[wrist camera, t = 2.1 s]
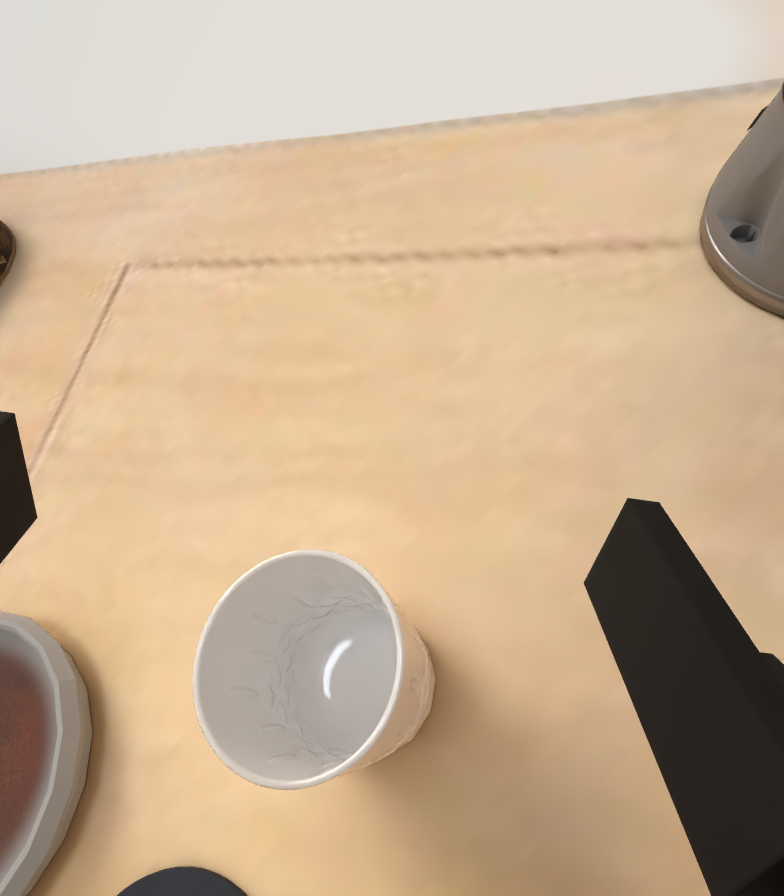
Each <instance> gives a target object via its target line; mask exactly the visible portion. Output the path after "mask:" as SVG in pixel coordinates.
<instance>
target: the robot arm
mask: <svg viewBox="0 0 784 896" xmlns="http://www.w3.org/2000/svg"><path fill="white" fill-rule="evenodd" d="M750 128H751V130H750V131H749V132H748V134H747V135H746V136H745V138H744V139H743V140H742V142H741V143H740V144H739V146H738V147H737V148H736V150H735V151H734V152H733V154H732V155H731V156H730V158H729V159H728V160H727V162H726V163H725V164H724V166H723V167H722V169H721V170H720V172H719V174H718V176H717V177H716V179H715V181H714V183H713V185H712V187H711V189H710V192H709V194H708V197H707V200H706V203H705V207H704V210H703V213H702V217H701V223H700V238H701V243H702V247H703V250H704V253H705V255H706V257H707V259H708V261H709V263H710V265H711V266H712V268H713V269H714V270H715V272H716V273H717V274H718V275H719V276H720V278H721V279H722V280H723V281H724V282H725V283H726V284H727V285H729V286H730V287H731V288H732V289H733V290H735V291H736V292H737V293H738V294H740V295H741V296H743V297H744V298H746V299H747V300H749V301H751V302H752V303H754V304H756V305H758V306H760V307H762V308H764V309H766V310H768V311H771V312H773V313H775V314H778V315H781V316H784V82H783V84H782V87H781V89H780V91H779V92H778V94H777V95H776V96H775V98H774V99H773V100H772V102H771V103H770V104H769V105H768V106H767V107H765V108H764V109H762V110H761V112H760V113H759V114H758V116H757V117H756V118H755V120H754V121H753V123H752V124H751V125H750V127H749V128H748V130H749V129H750ZM748 130H747V131H748ZM36 519H37V514H36V509H35V505H34V500H33V495H32V491H31V486H30V482H29V477H28V473H27V468H26V463H25V459H24V454H23V450H22V445H21V441H20V436H19V431H18V427H17V422H16V418H15V413H8V412H1V411H0V564H1V562H2V561H3V560H4V559H5V557H6V556H7V555H8V554H9V552H10V551H11V550H12V549H13V547H14V546H15V545H16V544H17V542H18V541H19V540H20V539H21V537H22V536H23V535H24V534H25V532H26V531H27V530H28V529H29V527H30V526H31V525H32V524H33V522H34V521H35V520H36ZM584 585H585V587H586V590H587V592H588V595H589V597H590V600H591V602H592V604H593V607H594V609H595V612H596V614H597V617H598V619H599V622H600V624H601V626H602V629H603V631H604V634H605V636H606V639H607V641H608V644H609V646H610V649H611V651H612V653H613V656H614V658H615V661H616V663H617V666H618V668H619V671H620V673H621V675H622V678H623V680H624V683H625V685H626V688H627V690H628V693H629V695H630V698H631V700H632V702H633V705H634V707H635V710H636V712H637V715H638V717H639V720H640V722H641V724H642V727H643V729H644V732H645V734H646V737H647V739H648V742H649V744H650V747H651V749H652V751H653V754H654V756H655V759H656V761H657V764H658V766H659V769H660V771H661V773H662V776H663V778H664V781H665V783H666V786H667V788H668V791H669V793H670V796H671V798H672V800H673V803H674V805H675V808H676V810H677V813H678V815H679V818H680V820H681V822H682V825H683V827H684V830H685V832H686V835H687V837H688V840H689V842H690V845H691V847H692V849H693V852H694V854H695V857H696V859H697V862H698V864H699V867H700V869H701V871H702V874H703V876H704V879H705V881H706V884H707V886H708V889H709V891H710V894H711V896H784V664H783V663H781V662H780V661H779V660H778V659H777V658H776V657H775V656H774V655H773V654H769V653H760V652H759V651H758V649H757V648H756V646H755V645H754V643H753V642H752V640H751V639H750V637H749V636H748V634H747V633H746V631H745V630H744V628H743V627H742V625H741V624H740V622H739V621H738V619H737V618H736V616H735V615H734V613H733V612H732V610H731V609H730V607H729V606H728V604H727V603H726V601H725V600H724V598H723V597H722V595H721V594H720V592H719V591H718V590H717V588H716V587H715V585H714V584H713V582H712V581H711V579H710V578H709V576H708V575H707V573H706V572H705V570H704V569H703V567H702V566H701V564H700V563H699V561H698V560H697V558H696V557H695V555H694V554H693V552H692V551H691V549H690V548H689V546H688V545H687V543H686V542H685V540H684V539H683V537H682V536H681V534H680V533H679V531H678V530H677V528H676V527H675V525H674V524H673V522H672V521H671V519H670V518H669V516H668V515H667V513H666V512H665V510H664V509H663V507H662V506H661V504H660V503H659V502H652V501H645V500H638V499H631V498H627V500H626V502H625V504H624V506H623V508H622V510H621V512H620V514H619V516H618V518H617V520H616V522H615V523H614V525H613V527H612V529H611V531H610V533H609V535H608V537H607V539H606V541H605V543H604V545H603V547H602V549H601V551H600V552H599V554H598V556H597V558H596V560H595V562H594V564H593V566H592V568H591V570H590V572H589V574H588V576H587V578H586V579H585V581H584Z"/></svg>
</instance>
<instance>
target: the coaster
mask: <svg viewBox="0 0 784 896" xmlns="http://www.w3.org/2000/svg"><path fill="white" fill-rule="evenodd" d="M117 896H247V895H246V894H245V893H244V892H243V891H242V890H241V889H239V888H238V887H237V886H236V885H235V884H233V883H232V882H231V881H229V880H228V879H226V878H224V877H223V876H221V875H219V874H217V873H214V872H212V871H209V870H206V869H202V868H196V867H174V868H169V869H164V870H161V871H158V872H156V873H153V874H150V875H147V876H145V877H143V878H142V879H140V880H138V881H136V882H134V883H133V884H131V885H130V886H129V887H127V888H126V889H124V890H123V891H122V892H120V893H119V894H118V895H117Z"/></svg>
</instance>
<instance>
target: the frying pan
mask: <svg viewBox="0 0 784 896" xmlns="http://www.w3.org/2000/svg"><path fill="white" fill-rule="evenodd" d="M91 739H92V726H91V718H90V709H89V700H88V691H87V688H86V686H85V684H84V682H83V680H82V678H81V675H80V673H79V671H78V669H77V667H76V665H75V663H74V661H73V659H72V657H71V656H70V655H69V654H68V653H67V652H65V651H64V650H63V649H62V648H61V646H60V644H59V642H58V641H57V640H56V639H55V638H54V637H53V636H51V635H50V634H49V633H48V632H47V631H45V630H44V629H43V628H42V627H41V626H39V625H38V624H37V623H36V622H35V621H34V620H32V619H31V618H27V617H23V616H19V615H14V614H10V613H6V612H2V611H0V896H26V895H27V894H28V893H29V892H30V891H31V890H32V889H33V887H34V886H35V884H36V883H37V881H38V880H39V878H40V876H41V875H42V873H43V872H44V870H45V869H46V867H47V866H48V864H49V862H50V861H51V859H52V858H53V856H54V855H55V853H56V852H57V850H58V848H59V847H60V845H61V844H62V842H63V841H64V839H65V836H66V834H67V831H68V828H69V826H70V823H71V821H72V818H73V815H74V813H75V810H76V807H77V805H78V802H79V799H80V797H81V794H82V791H83V789H84V786H85V781H86V774H87V767H88V760H89V753H90V746H91Z"/></svg>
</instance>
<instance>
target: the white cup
mask: <svg viewBox="0 0 784 896" xmlns="http://www.w3.org/2000/svg"><path fill="white" fill-rule="evenodd" d="M435 679H436V677H435V674H434V670H433V666H432V663H431V659H430V655H429V652H428V648H427V646H426V645H425V643H424V642H423V641H422V640H421V638H420V636H419V634H418V632H417V630H416V629H415V627H414V626H413V624H412V623H411V622H410V620H409V619H408V617H407V616H406V614H405V613H404V612H403V610H402V609H401V608H400V607H399V605H398V604H397V603H396V602H395V601H394V600H393V599H392V598H391V596H390V595H389V594H388V592H387V591H386V590H385V589H384V588H383V586H382V585H381V584H380V583H379V582H378V580H377V579H376V578H375V577H374V576H373V575H372V574H371V573H370V572H369V571H367V570H366V569H365V568H364V567H362V566H361V565H359V564H358V563H356V562H355V561H353V560H351V559H349V558H347V557H345V556H342V555H339V554H336V553H333V552H329V551H323V550H297V551H291V552H286V553H283V554H280V555H277V556H274V557H272V558H269V559H267V560H265V561H263V562H261V563H259V564H258V565H256V566H254V567H253V568H251V569H250V570H249V571H247V572H246V573H245V574H243V575H242V576H241V577H240V578H239V579H238V580H237V581H235V582H234V583H233V584H232V585H231V587H230V588H229V589H228V590H227V591H226V592H225V593H224V595H223V596H222V597H221V599H220V600H219V601H218V603H217V604H216V606H215V607H214V609H213V611H212V612H211V614H210V616H209V618H208V620H207V622H206V624H205V626H204V629H203V631H202V634H201V637H200V640H199V643H198V646H197V650H196V655H195V660H194V668H193V697H194V705H195V710H196V714H197V718H198V721H199V724H200V727H201V729H202V732H203V734H204V736H205V738H206V740H207V742H208V744H209V745H210V747H211V748H212V750H213V751H214V753H215V754H216V755H217V756H218V758H219V759H220V760H221V761H222V762H223V763H224V764H225V765H226V766H227V767H228V768H229V769H230V770H232V771H233V772H234V773H236V774H237V775H239V776H240V777H242V778H244V779H245V780H247V781H249V782H252V783H254V784H257V785H259V786H263V787H266V788H271V789H279V790H296V789H303V788H308V787H312V786H316V785H319V784H322V783H324V782H327V781H329V780H332V779H335V778H337V777H340V776H343V775H345V774H348V773H351V772H354V771H357V770H359V769H362V768H364V767H366V766H368V765H370V764H372V763H375V762H377V761H379V760H381V759H383V758H385V757H387V756H389V755H390V754H391V753H393V752H394V751H395V750H396V749H398V748H400V747H401V746H403V745H405V744H406V743H408V742H410V741H411V740H413V738H414V737H415V735H416V734H417V732H418V731H419V729H420V727H421V726H422V724H423V723H424V721H425V720H426V718H427V716H428V715H429V713H430V712H431V706H432V700H433V693H434V686H435Z"/></svg>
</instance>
